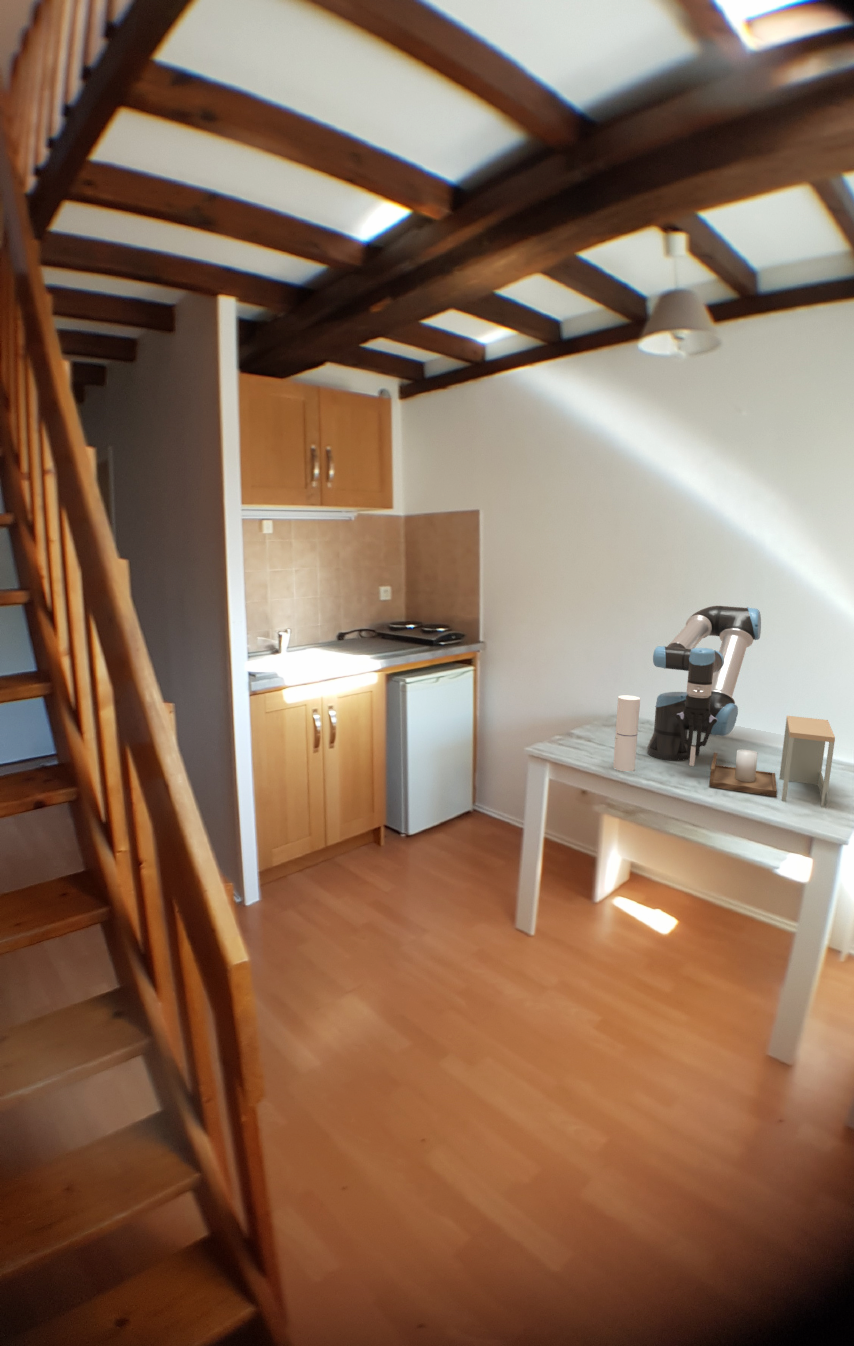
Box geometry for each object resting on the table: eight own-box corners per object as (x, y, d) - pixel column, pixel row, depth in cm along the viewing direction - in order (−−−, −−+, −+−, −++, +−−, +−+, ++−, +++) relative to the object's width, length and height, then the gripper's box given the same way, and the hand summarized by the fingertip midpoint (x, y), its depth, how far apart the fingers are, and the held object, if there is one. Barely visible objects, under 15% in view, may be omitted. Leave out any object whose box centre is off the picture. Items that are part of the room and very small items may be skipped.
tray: (709, 786, 214) (710, 768, 213) (712, 769, 231) (714, 752, 230) (776, 796, 206) (778, 778, 205) (774, 778, 223) (776, 761, 221)
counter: (781, 800, 204) (789, 732, 200) (779, 778, 224) (786, 715, 220) (825, 807, 199) (835, 737, 195) (819, 784, 219) (827, 720, 215)
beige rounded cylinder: (734, 780, 216) (737, 753, 215) (734, 775, 222) (737, 748, 220) (755, 783, 214) (757, 755, 212) (754, 777, 219) (757, 750, 218)
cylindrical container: (623, 773, 227) (628, 700, 222) (608, 766, 233) (613, 696, 228) (639, 770, 230) (644, 698, 225) (624, 764, 236) (629, 694, 231)
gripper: (676, 695, 219) (670, 764, 224) (719, 700, 214) (712, 771, 218) (678, 691, 226) (672, 758, 230) (720, 695, 220) (713, 764, 225)
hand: (692, 764), depth 224 cm, fingers closed
